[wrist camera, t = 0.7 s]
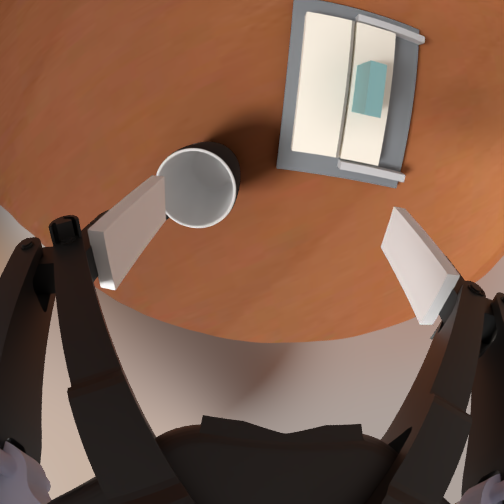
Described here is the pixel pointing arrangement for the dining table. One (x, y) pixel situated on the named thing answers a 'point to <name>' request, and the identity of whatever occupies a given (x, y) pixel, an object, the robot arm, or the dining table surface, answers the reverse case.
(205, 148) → the mug
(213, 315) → the dining table surface
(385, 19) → the board
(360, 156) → the white long block
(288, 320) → the dining table surface
